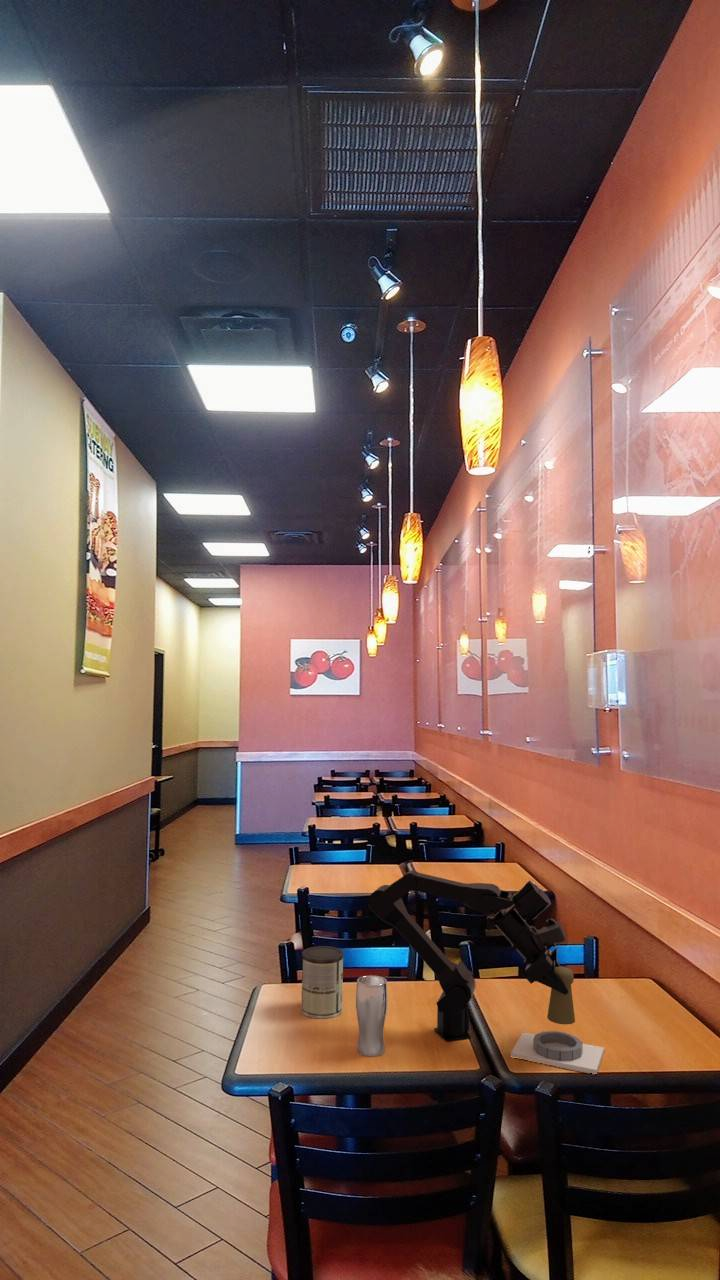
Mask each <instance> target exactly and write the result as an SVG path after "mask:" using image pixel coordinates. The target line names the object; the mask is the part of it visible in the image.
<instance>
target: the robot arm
mask: <svg viewBox="0 0 720 1280" xmlns="http://www.w3.org/2000/svg"><path fill="white" fill-rule="evenodd" d="M411 891H413V892H417V893H422V894H427V895H430V896H434V897H438V898H441V899H442V898H443V899H446V900H450V901H455V902H459V903H461V904H463V905H464V906H467V907H468V908H470V909H472V910H473V911H475V912H476V911H477V912H478V913H480V914H483V915H487V917H486V921H487V922H486V923H487V928H486V930H487V931H488V932H490V931H491V930H492V929H493V928H494V927H496V928H497V929H498V930H499V931H500V933H501V934H502V935H503V936H504V937H505V938H506V939H507V941H509V943H510V944H511V950H513V951H514V952H515V951H517V952H518V953H519V955H520V956H521V957H522V958H523V959H524V960H523V963H524V964H525V965H526V966H525V970H524V978H525V979H526V981H528V982H529V983H530V984H533V983H535V982H536V983H539V984H542V985H544V986H546V987H547V988H550V989H551V988H552V989H554V990H556V991H558V992H560V993H562V994H564V995H566V994H567V993H568V992H569V991H568V989H567V987H566V986H565V984H564V983H563V981H562V980H561V978H560V977H559V975H558V974H557V972H556V971H555V967H562V966H561V965H560V963H559V960H558V948H557V947H556V946H557V944H558V943H559V944H560V943H563V942H564V941H566V937H567V935H566V931H565V930H564V926H563V924H562V923H561V922H560V921H556V919H554V918H553V917H552V918H549V919H546V921H545V926H543V927H542V928H540V929H537V927H536V926H533V925H529V924H528V923H527V921H525V920H532V921H534V919H536V918H537V917H538V916H539V915H540V914H542V912H544V911H545V910H546V909H547V908H549V907H550V906H551V905H552V902H551V899H550V898H549V896H548V895H547V894H546V892H544V890H543V889H542V888H540V887H539V886H537V885H536V883H535V884H534V883H533V882H532V881H531V880H528V881H527V882H526V883H525V884H524V885H523V886H522V888H520V889H519V890H518V891H517V892H516V893H515V892H510V891H506V890H502V889H500V888H499V886H497V885H496V884H495V883H494V884H493V883H484V882H481V883H480V882H476V883H475V882H472V883H468V882H467V883H466V882H464V883H463V882H461V881H456V880H451V879H447V878H443V877H438V876H434V875H432V874H431V875H430V874H426V873H421V872H418V871H417V870H409V871H408V872H406V873H405V874H404V875H403V876H401V877H400V878H399V879H397V880H395V881H394V882H392V883H391V884H384V885H380V886H379V887H377V889H375V890H374V891H373V892H372V893H370V894H369V898H368V907H369V910H370V911H371V912H372V913H373V914H374V915H375V916H377V917H378V918H379V919H380V920H381V921H383V922H385V923H387V924H389V925H391V926H392V927H393V928H395V930H396V931H397V932H398V933H399V934H400V936H402V937H403V938H404V940H405V941H406V942H407V943H408V944H409V946H410V947H411V948H413V950H414V951H415V953H417V954H418V956H419V957H420V958H421V959H422V960H423V962H424V963H425V964H426V965H427V966H428V968H429V969H431V971H432V972H433V973H434V974H435V977H436V979H437V981H438V983H439V986H440V988H441V990H442V992H441V995H440V996H439V998H438V1000H437V1001H436V1007H437V1011H436V1012H437V1013H436V1014H437V1016H436V1023H437V1024H436V1027H433V1031H434V1032H435V1033H436V1034H437V1035H438V1036H439V1037H441V1039H443V1040H444V1041H446V1042H451V1041H457V1040H462V1039H464V1040H465V1039H470V1038H471V1036H472V1035H471V1034H470V1033H469V1032H470V1013H469V1012H468V1009H469V1007H467V1006H466V1005H467V1004H469V1003H470V1001H471V999H472V996H473V995H474V992H475V989H476V980H475V978H474V977H473V974H474V972H473V971H472V970H470V969H468V968H467V966H466V965H465V963H464V962H463V961H462V960H459V961H458V962H457V963H455V962H454V961H453V960H450V959H449V958H448V957H447V956H446V954H444V952H442V950H441V949H440V948H439V946H437V945H436V943H435V942H434V940H432V938H431V937H430V936H429V935H428V934H427V933H426V932H425V931H424V930H423V928H422V927H421V926H420V925H419V924H418V923H417V922H416V921H415V919H414V918H413V917H412V916H411V914H409V912H408V909H407V908H406V905H405V903H404V901H403V899H402V898H403V897H405V896H406V895H407V894H408V893H410V892H411ZM498 910H499V911H498ZM497 911H498V912H497ZM496 912H497V913H496ZM552 947H553V948H555V949H554V950H551V948H552Z"/></svg>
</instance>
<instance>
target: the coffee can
mask: <svg viewBox="0 0 720 1280" xmlns="http://www.w3.org/2000/svg"><path fill="white" fill-rule="evenodd" d="M344 952H345V951H343V950H342V949H341V948H339V947H335V946H329V945H319V946H318V945H317V946H311V947H307V948H305V949H303V950H302V952H301V956H302V960H301V961H302V966H301V971H302V972H301V1009H300V1010H301V1011H300V1012H301V1014H302V1015H304V1016H305V1017H308V1018H312V1019H318V1020H319V1019H321V1020H323V1019H331V1018H335V1017H338V1016H340V1015H341V1014H342V1013H343V986H344V985H343V983H344V982H343V976H344V974H343V973H344V956H345V955H344V954H345V953H344Z"/></svg>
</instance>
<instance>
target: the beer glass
mask: <svg viewBox="0 0 720 1280" xmlns="http://www.w3.org/2000/svg"><path fill="white" fill-rule="evenodd" d="M355 992H356V993H355V1009H356V1018H357V1024H358V1025H357V1026H358V1041H357V1047H356V1052H357V1053H358V1054H359V1055H360V1056H364V1057H368V1058H369V1057H370V1058H371V1057H373V1058H374V1057H379V1056H382V1055H383V1054H384V1053H385V1052H386V1049H385V1041H384V1030H385V1029H384V1028H385V1022H386V1017H387V1011H388V1001H389V1000H388V981H387V979H386V978H385V977H382V976H380V975H364V976H360V977H359V978H357V979H356V991H355Z"/></svg>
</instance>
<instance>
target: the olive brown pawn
mask: <svg viewBox="0 0 720 1280" xmlns="http://www.w3.org/2000/svg"><path fill="white" fill-rule="evenodd" d="M555 971H556V972H557V974H558V975H559V977H560V978H561V980H562V981H563V983H564V984H565V986H566V987H567V989H568V991H569V992H568V993H567V994H566V995H564V994H562V993H560V992H558V991H556V990H554V989H552V988H550V996H549V1002H548V1010H547V1020H548V1021H550V1022H552V1023H554V1024H559V1025H572V1024H574V1023H576V1017H575V1008H574V1000H573V991H572V985H573V983H574V978H575V977H574V976H575V975H574V971H572V969H570V968H568V967H565V966H561V967H555Z"/></svg>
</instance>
